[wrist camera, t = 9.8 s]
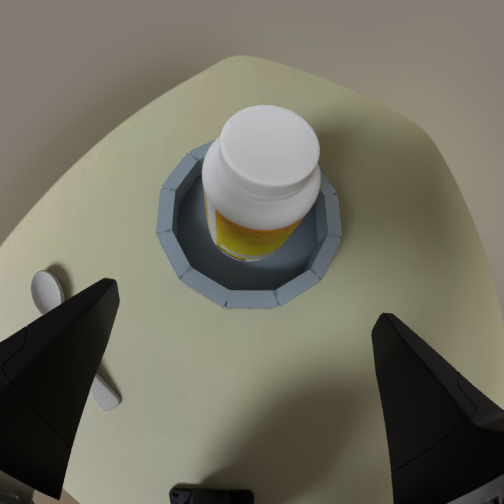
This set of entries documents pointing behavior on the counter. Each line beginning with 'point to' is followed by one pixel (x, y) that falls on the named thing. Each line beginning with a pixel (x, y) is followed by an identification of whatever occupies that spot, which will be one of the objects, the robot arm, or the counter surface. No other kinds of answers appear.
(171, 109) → the counter surface
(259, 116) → the supplement bottle
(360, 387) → the counter surface
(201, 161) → the bowl
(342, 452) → the counter surface
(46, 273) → the spoon
